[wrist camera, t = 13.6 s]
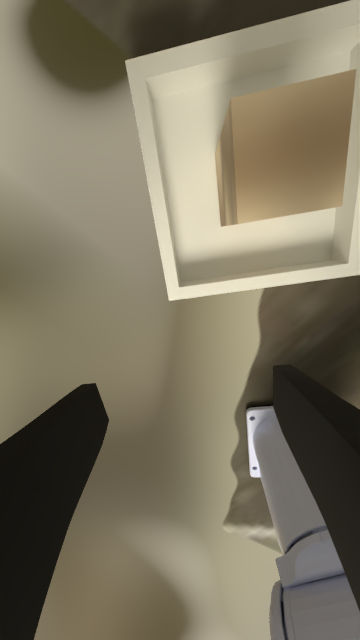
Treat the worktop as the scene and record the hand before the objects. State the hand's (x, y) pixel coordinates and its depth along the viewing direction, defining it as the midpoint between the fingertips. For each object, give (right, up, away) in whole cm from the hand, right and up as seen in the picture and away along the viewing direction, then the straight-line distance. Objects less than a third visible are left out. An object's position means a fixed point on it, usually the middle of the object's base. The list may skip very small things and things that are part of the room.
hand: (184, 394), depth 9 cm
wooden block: (+4, +11, +5) cm, 13 cm away
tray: (+4, +11, +5) cm, 13 cm away
